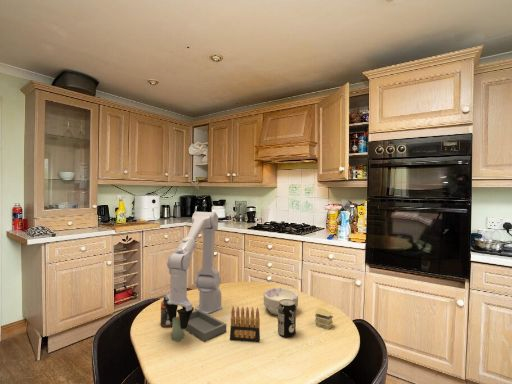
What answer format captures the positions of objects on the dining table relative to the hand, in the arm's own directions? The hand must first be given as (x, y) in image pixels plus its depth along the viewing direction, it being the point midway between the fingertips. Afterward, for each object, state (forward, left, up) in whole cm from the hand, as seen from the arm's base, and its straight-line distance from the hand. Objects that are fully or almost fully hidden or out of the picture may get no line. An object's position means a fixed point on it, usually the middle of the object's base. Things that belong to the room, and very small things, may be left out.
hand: (178, 324), depth 102 cm
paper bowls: (-44, +12, -5) cm, 46 cm away
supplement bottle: (-3, -12, -5) cm, 13 cm away
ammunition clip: (-16, +18, -5) cm, 25 cm away
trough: (-10, 0, -5) cm, 11 cm away
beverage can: (-30, +26, -5) cm, 40 cm away
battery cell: (0, 0, -5) cm, 5 cm away
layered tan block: (-46, +32, -6) cm, 56 cm away
